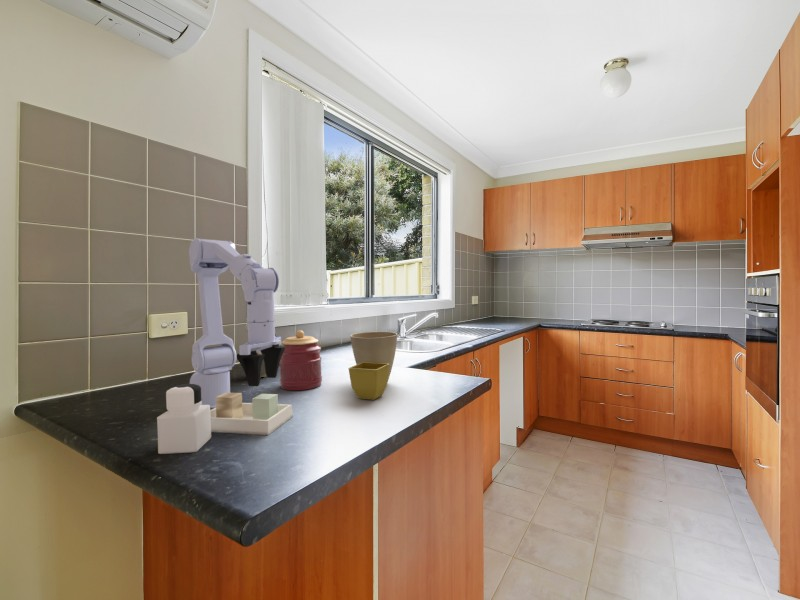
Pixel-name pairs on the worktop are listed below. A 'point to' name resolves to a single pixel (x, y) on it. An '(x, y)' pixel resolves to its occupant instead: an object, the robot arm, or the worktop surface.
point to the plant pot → (374, 347)
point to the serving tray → (251, 421)
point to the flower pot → (369, 379)
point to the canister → (300, 363)
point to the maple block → (229, 405)
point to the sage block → (265, 406)
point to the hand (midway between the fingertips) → (263, 381)
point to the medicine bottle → (183, 421)
